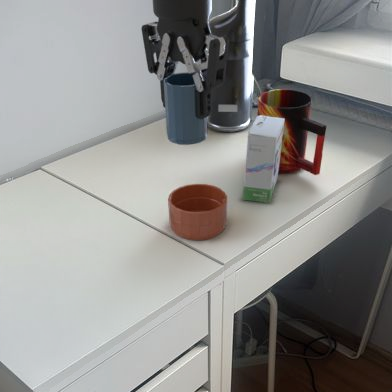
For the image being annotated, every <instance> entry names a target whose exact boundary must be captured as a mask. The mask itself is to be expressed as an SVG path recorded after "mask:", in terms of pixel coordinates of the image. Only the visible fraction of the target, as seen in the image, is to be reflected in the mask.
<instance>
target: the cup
mask: <svg viewBox="0 0 392 392" xmlns="http://www.w3.org/2000/svg"><path fill="white" fill-rule="evenodd" d="M201 75H202V79H203V80H204V77H203V74H202V73H201ZM196 91H198V90H197V88H196V85H195V82H194V79H193V76H192V75H190V74H189V73H188V71H187V72H175V74H171V75H169V76H166V77H165V78H164V96H165V108H164V109H165V124H166V125H165V126H166V137H167V140H168V141H169V142H170V143H173V144H175V145H182V146H192V145H196V144H199V143H202V142H204V141H205V140H206V139H207V137H208V117H206V118H204V119H199V118H197V117H196Z"/></svg>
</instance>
